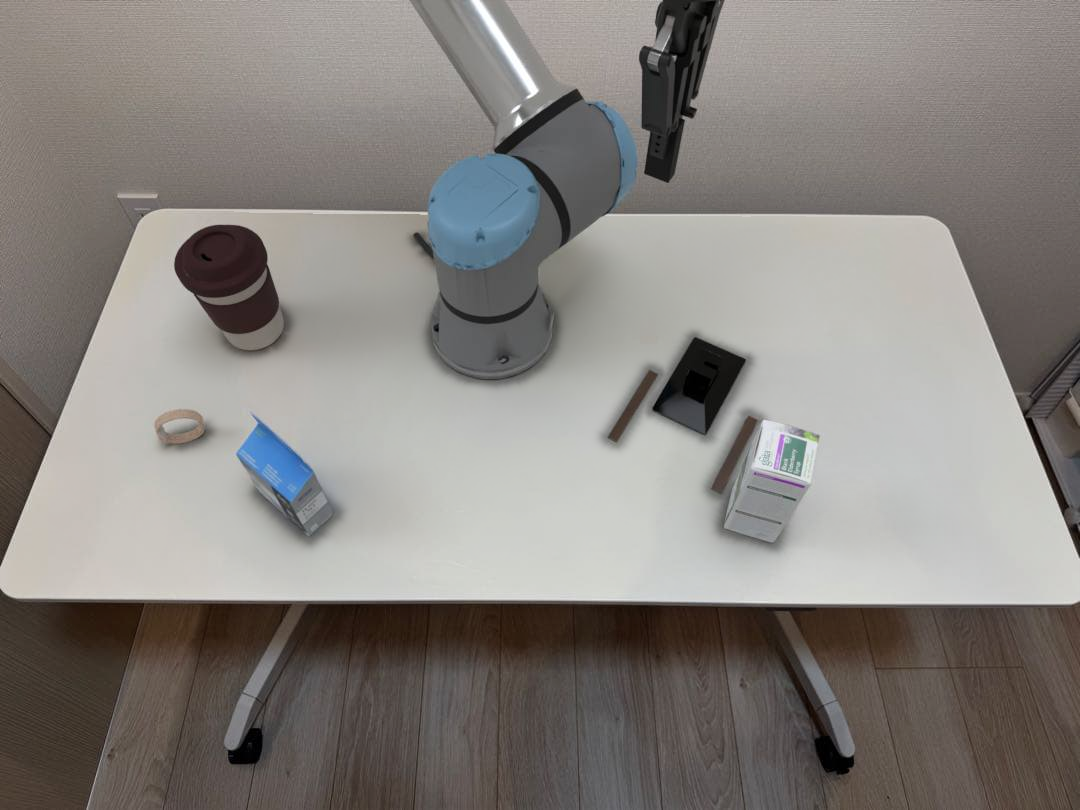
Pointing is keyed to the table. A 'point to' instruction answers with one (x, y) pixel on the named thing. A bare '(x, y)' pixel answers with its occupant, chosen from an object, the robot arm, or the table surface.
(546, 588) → the table surface
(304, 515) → the label tape box
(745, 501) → the syrup box
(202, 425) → the beige hollow ring
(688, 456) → the table surface
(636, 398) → the strips
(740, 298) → the table surface
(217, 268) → the coffee cup
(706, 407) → the build plate
